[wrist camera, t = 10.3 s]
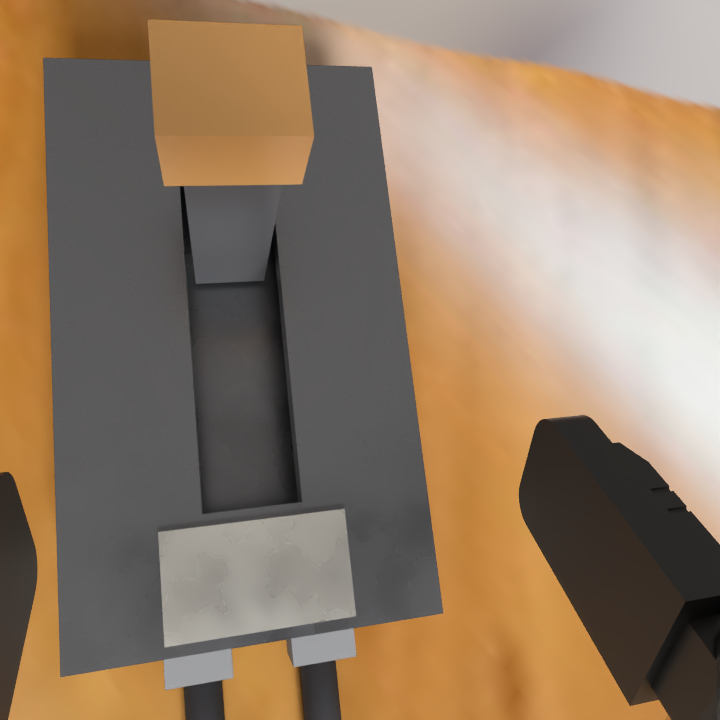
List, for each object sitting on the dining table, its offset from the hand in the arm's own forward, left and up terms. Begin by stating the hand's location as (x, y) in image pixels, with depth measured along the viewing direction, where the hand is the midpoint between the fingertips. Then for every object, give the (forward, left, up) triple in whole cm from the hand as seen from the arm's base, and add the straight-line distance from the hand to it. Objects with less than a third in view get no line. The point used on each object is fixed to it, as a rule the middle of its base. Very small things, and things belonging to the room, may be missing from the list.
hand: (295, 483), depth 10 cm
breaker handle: (-8, -8, -20) cm, 23 cm away
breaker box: (-5, -5, -22) cm, 22 cm away
